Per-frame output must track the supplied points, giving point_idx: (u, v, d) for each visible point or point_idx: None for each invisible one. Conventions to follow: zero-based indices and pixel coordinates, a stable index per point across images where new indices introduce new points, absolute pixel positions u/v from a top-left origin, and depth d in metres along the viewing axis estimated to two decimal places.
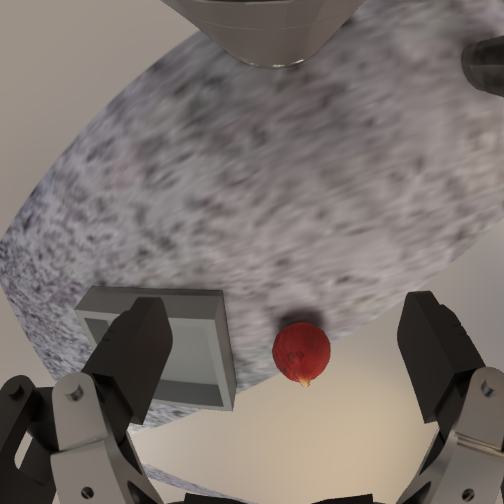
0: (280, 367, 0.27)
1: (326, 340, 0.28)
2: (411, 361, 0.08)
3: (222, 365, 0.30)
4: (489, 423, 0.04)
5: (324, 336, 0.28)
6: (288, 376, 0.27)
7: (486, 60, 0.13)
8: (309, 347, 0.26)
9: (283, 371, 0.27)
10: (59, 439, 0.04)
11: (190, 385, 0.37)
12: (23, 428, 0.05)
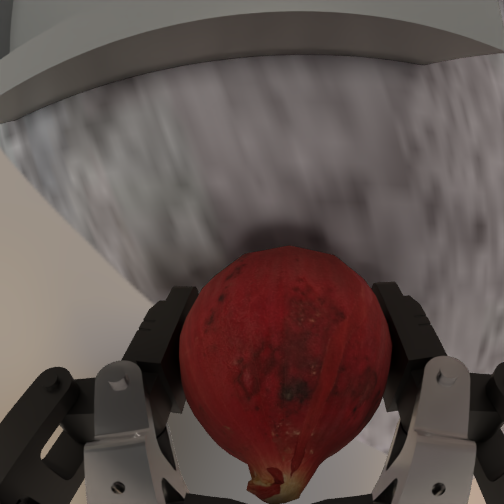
0: (290, 359, 0.05)
1: None
2: None
3: (179, 20, 0.04)
4: (450, 412, 0.04)
5: None
6: (261, 414, 0.05)
7: None
8: None
9: (278, 383, 0.05)
10: (96, 427, 0.05)
11: None
12: (55, 423, 0.05)
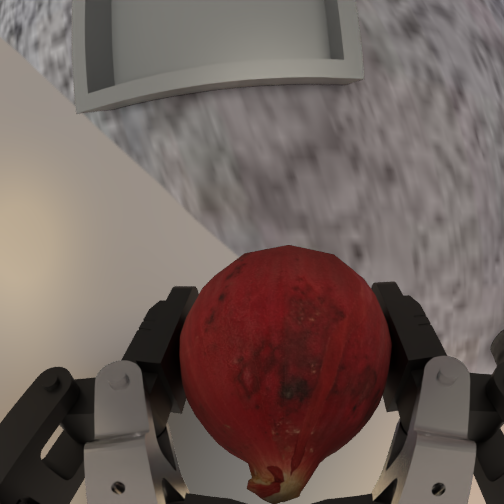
0: (290, 358, 0.05)
1: None
2: None
3: (234, 79, 0.13)
4: (450, 412, 0.04)
5: None
6: (261, 412, 0.05)
7: None
8: None
9: (278, 381, 0.05)
10: (96, 427, 0.05)
11: (108, 28, 0.14)
12: (55, 423, 0.05)
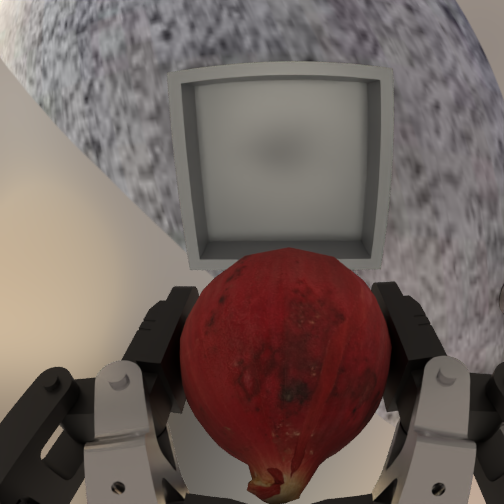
0: (290, 360, 0.05)
1: None
2: None
3: None
4: (450, 412, 0.04)
5: None
6: (261, 415, 0.05)
7: None
8: None
9: (278, 384, 0.05)
10: (96, 427, 0.05)
11: (201, 190, 0.25)
12: (55, 423, 0.05)
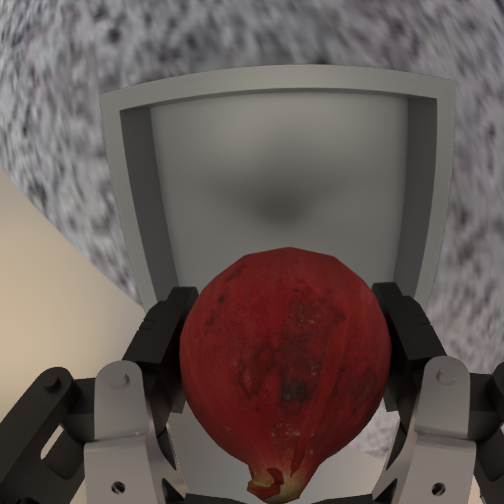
0: (290, 360, 0.05)
1: None
2: None
3: None
4: (450, 412, 0.04)
5: None
6: (261, 414, 0.05)
7: None
8: None
9: (278, 383, 0.05)
10: (96, 427, 0.05)
11: (170, 258, 0.18)
12: (55, 423, 0.05)
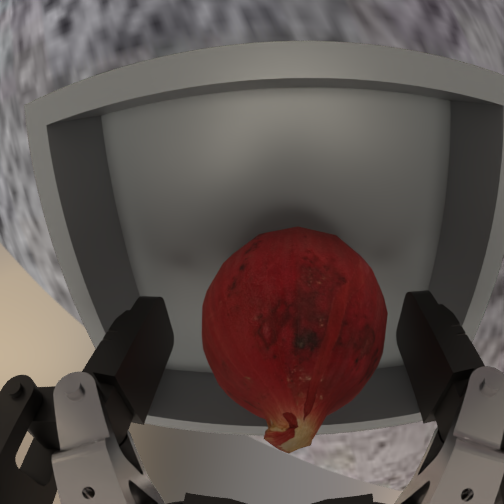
0: (302, 313, 0.06)
1: None
2: (410, 361, 0.08)
3: None
4: (488, 422, 0.04)
5: None
6: (278, 361, 0.06)
7: None
8: None
9: (292, 333, 0.06)
10: (60, 438, 0.04)
11: None
12: (24, 428, 0.05)
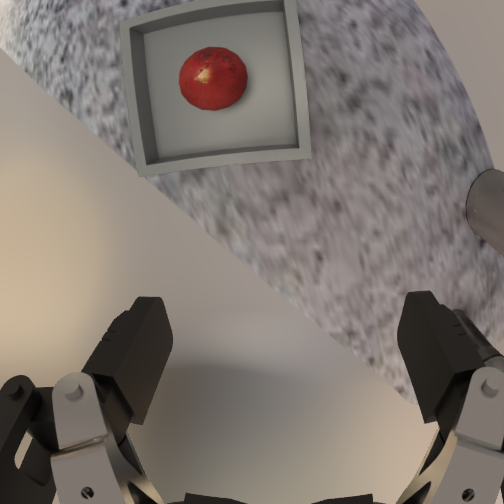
0: (206, 51, 0.19)
1: (235, 101, 0.23)
2: (411, 361, 0.08)
3: (236, 163, 0.26)
4: (489, 423, 0.04)
5: (239, 98, 0.23)
6: (199, 60, 0.19)
7: (468, 326, 0.33)
8: (240, 78, 0.21)
9: (203, 54, 0.19)
10: (59, 439, 0.04)
11: (150, 113, 0.27)
12: (23, 428, 0.05)
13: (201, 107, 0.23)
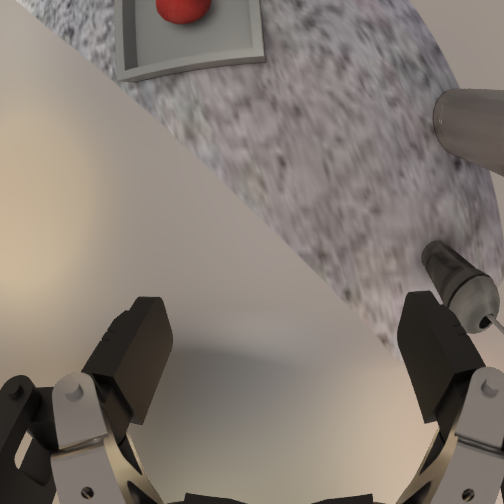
0: None
1: (200, 14, 0.23)
2: (411, 361, 0.08)
3: (199, 62, 0.26)
4: (489, 423, 0.04)
5: (203, 13, 0.23)
6: None
7: (451, 252, 0.33)
8: None
9: None
10: (59, 439, 0.04)
11: (134, 36, 0.27)
12: (23, 428, 0.05)
13: (171, 19, 0.23)
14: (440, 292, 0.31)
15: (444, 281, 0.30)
